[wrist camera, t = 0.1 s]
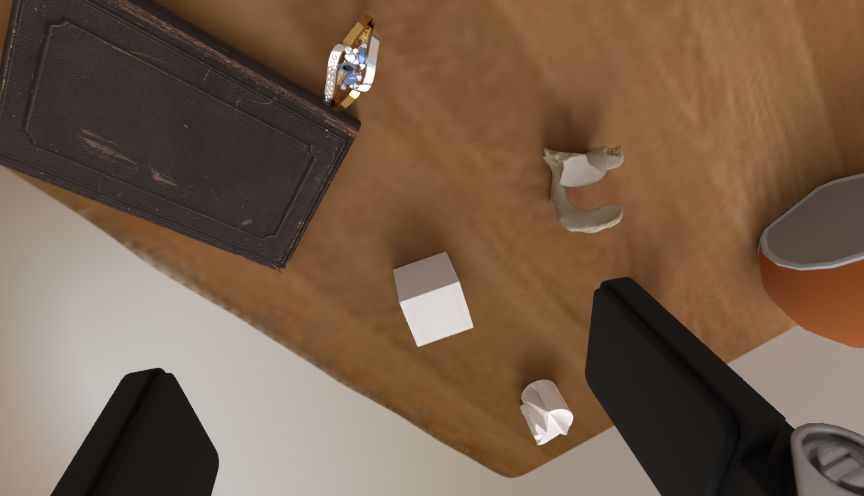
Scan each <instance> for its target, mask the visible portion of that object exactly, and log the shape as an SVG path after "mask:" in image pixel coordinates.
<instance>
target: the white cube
mask: <svg viewBox="0 0 864 496" xmlns="http://www.w3.org/2000/svg"><path fill="white" fill-rule="evenodd" d="M393 272H394V277H395V283H396V288H397V293H398V298H399V303H400V305H401V308H402V310H403V312H404V315H405V317H406V320H407V322H408V324H409V327H410V329H411V332H412V334H413V336H414V339H415V341H416V344H417V346H418V347H419V346H422V345H425V344H428V343H430V342H433V341H436V340H439V339H442V338H445V337H448V336H450V335H453V334H456V333H459V332H462V331H465V330H467V329H470V328H473V324H472V321H471V318H470V314H469V311H468V308H467V305H466V302H465V298H464V295H463V292H462V289H461V286H460V282H459V280H458V278H457V275H456V273H455V271H454V268H453V266H452V264H451V261H450V259H449V257H448V255H447V252H446V251H445V252H442V253H439V254H437V255H434V256H431V257H428V258H425V259H422V260H419V261H416V262H414V263H411V264H408V265H405V266H402V267H399V268H396V269H393Z"/></svg>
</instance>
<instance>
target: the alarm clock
mask: <svg viewBox="0 0 864 496" xmlns="http://www.w3.org/2000/svg"><path fill="white" fill-rule="evenodd" d="M757 253H758V259H759V264H760V269H761V275H762V281H763V286H764V288H765V290H766V291H767V293H768V295H769V296H770V298H771V300H772V301H773V302H774V303H775V304H776V305H777V306H778V307H779V308H781V309H782V310H783V311H784V312H785V313H786V314H787V315H788V316H789V317H790V318H791V319H792V320H794V321H795V322H796V323H797V324H799V325H800V326H801V327H803V328H804V329H805V330H807V331H810V332H813V333H815V334H818V335H820V336H823V337H825V338H828V339H831V340H834V341H837V342H839V343H842V344H845V345H848V346H851V347H856V348H864V173H862V174H858V175H853V176H849V177H845V178H840V179H836V180H833V181H831V182H828V183H826V184H824V185H821V186H819V187H817V188H816V189H815V190H813V191H812V192H811V193H810V194H808V195H807V196H806V197H805V198H803V199H802V200H801V201H800V202H798V203H797V204H796V205H794V206H793V207H792V208H791V209H789V210H788V211H787V212H786V213H784V214H783V215H782V216H781V217H779V218H778V219H777V220H776V221H774V222H773V223H772V224H771V225H769V226H768V227H767V228H766V229H765V230H764V231H763V233H762V235H761V237H760V242H759V245H758V248H757Z"/></svg>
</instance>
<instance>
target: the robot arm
mask: <svg viewBox="0 0 864 496" xmlns="http://www.w3.org/2000/svg"><path fill="white" fill-rule="evenodd" d="M585 376H586V380H587V383H588V385H589V387H590V389H591V390H592V392H593V393H594V395H595V396H596V398H597V399H598V401H599V402H600V404H601V405H602V407H603V408H604V410H605V411H606V413H607V414H608V416H609V417H610V419H611V420H612V422H613V423H614V425H615V426H616V428H617V429H618V431H619V432H620V434H621V435H622V437H623V438H624V440H625V441H626V443H627V445H628V446H629V447H630V449H631V451H632V452H633V454H634V455H635V457H636V458H637V460H638V461H639V462H640V464H641V465H642V467H643V469H644V470H645V472H646V473H647V475H648V476H649V478H650V479H651V481H652V482H653V484H654V485H655V487H656V488H657V490H658V491H659V493H660V494H661V496H864V436H861V435H860V434H858V433H856V432H853V431H850V430H847V429H845V428H842V427H839V426H834V425H829V424H824V423H808V424H805V425H802V426H799V427H797V428H796V429H794V428H793V427H792V426H790V425H789V424H788V423H787V422H786V421H785V419H786V418H785V417H784V416H783V415H782V414H781V413H779V412H778V411H777V410H776V409H775V408H774V407H773V406H772V405H771V404H769V403H768V402H767V401H766V400H765V399H764V398H763V397H762V396H761V395H759V393H757V392H756V391H755V390H754V389H753V388H752V387H751V386H750V385H749V384H747V383H746V382H745V381H744V380H743V379H742V378H741V377H740V376H739V375H738V374H736V373H735V372H734V371H733V370H732V369H731V368H730V367H729V366H728V365H727V364H725V363H724V362H723V361H722V360H721V359H720V358H719V357H718V356H717V355H716V354H714V353H713V352H712V351H711V350H710V349H709V348H708V347H707V346H706V345H705V344H703V343H702V342H701V341H700V340H699V339H698V338H697V337H696V336H695V335H694V334H692V333H691V332H690V331H689V330H688V329H687V328H686V327H685V326H684V325H683V324H681V323H680V322H679V321H678V320H677V319H676V318H675V317H674V316H673V315H672V314H670V313H669V312H668V311H667V310H666V309H665V308H664V307H663V306H662V305H660V304H659V303H658V302H657V301H656V300H655V299H654V298H653V297H652V296H651V295H649V294H648V293H647V292H646V291H645V290H644V289H643V288H642V287H641V286H640V285H638V284H637V283H636V282H635V281H634V280H633V279H631V278H630V277H622V278H617V279H612V280H607V281H603V282H602V283H601V285H600V288H599V289H596V290H595V292H594V298H593V307H592V315H591V324H590V333H589V342H588V351H587V359H586V368H585ZM218 467H219V458H218V453H217V451H216V449H215V447H214V446H213V444H212V442H211V440H210V439H209V437H208V435H207V433H206V431H205V430H204V428H203V426H202V424H201V422H200V421H199V419H198V417H197V415H196V414H195V412H194V410H193V408H192V406H191V405H190V403H189V401H188V399H187V397H186V396H185V394H184V392H183V390H182V388H181V387H180V385H179V383H178V381H177V380H176V378H175V377H174V375H173V374H172V373H165V371H164V370H163V369H161V368H154V369H149V370H144V371H139V372H134V373H129V374H127V375H125V376H124V377H123V379H122V380H121V382H120V383H119V385H118V386H117V388H116V390H115V391H114V393H113V395H112V396H111V398H110V399H109V401H108V403H107V405H106V406H105V408H104V409H103V411H102V413H101V414H100V416H99V418H98V419H97V421H96V422H95V424H94V426H93V427H92V429H91V430H90V432H89V434H88V435H87V437H86V439H85V440H84V442H83V443H82V445H81V447H80V448H79V450H78V451H77V453H76V455H75V456H74V458H73V460H72V461H71V463H70V464H69V466H68V468H67V469H66V471H65V473H64V474H63V476H62V478H61V479H60V481H59V482H58V484H57V486H56V487H55V489H54V491H53V492H52V494H51V495H50V496H211V494H212V490H213V486H214V483H215V479H216V476H217V472H218Z"/></svg>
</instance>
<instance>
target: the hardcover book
mask: <svg viewBox="0 0 864 496" xmlns="http://www.w3.org/2000/svg"><path fill="white" fill-rule="evenodd" d="M322 101H323V99H321V98H319V97H318V96H316V95H314V94H312V93H311V92H309V91H307V90H305V89H304V88H302V87H300V86H298V85H297V84H295V83H293V82H291V81H290V80H288V79H286V78H285V77H283V76H281V75H279V74H278V73H276V72H274V71H272V70H271V69H269V68H267V67H265V66H264V65H262V64H260V63H258V62H257V61H255V60H253V59H251V58H250V57H248V56H246V55H244V54H243V53H241V52H239V51H237V50H236V49H234V48H232V47H230V46H229V45H227V44H225V43H223V42H222V41H220V40H218V39H216V38H215V37H213V36H211V35H209V34H208V33H206V32H204V31H202V30H201V29H199V28H197V27H195V26H194V25H192V24H190V23H188V22H187V21H185V20H183V19H182V18H180V17H178V16H176V15H175V14H173V13H171V12H169V11H168V10H166V9H164V8H162V7H161V6H159V5H157V4H155V3H154V2H152V1H150V0H13V5H12V10H11V15H10V19H9V24H8V29H7V33H6V38H5V43H4V48H3V52H2V57H1V62H0V165H3V166H5V167H8V168H11V169H13V170H16V171H18V172H21V173H24V174H26V175H29V176H31V177H34V178H37V179H39V180H42V181H44V182H47V183H50V184H52V185H55V186H57V187H60V188H63V189H65V190H68V191H70V192H73V193H76V194H78V195H81V196H83V197H86V198H89V199H91V200H94V201H96V202H99V203H102V204H104V205H107V206H109V207H112V208H115V209H117V210H120V211H122V212H125V213H128V214H130V215H133V216H135V217H138V218H141V219H143V220H146V221H149V222H151V223H154V224H156V225H159V226H162V227H164V228H167V229H169V230H172V231H175V232H177V233H180V234H182V235H185V236H188V237H190V238H193V239H195V240H198V241H201V242H203V243H206V244H208V245H211V246H214V247H216V248H219V249H221V250H224V251H227V252H229V253H232V254H234V255H237V256H240V257H242V258H245V259H247V260H250V261H253V262H255V263H258V264H260V265H263V266H266V267H268V268H271V269H273V270H276V271H279V272H281V273H283V271H284V269H285V267H286V265H287V264H288V262H289V260H290V258H291V256H292V254H293V252H294V250H295V249H296V247H297V245H298V243H299V241H300V239H301V237H302V236H303V234H304V232H305V230H306V228H307V226H308V224H309V223H310V221H311V219H312V217H313V215H314V213H315V211H316V210H317V208H318V206H319V204H320V202H321V200H322V198H323V196H324V195H325V193H326V191H327V189H328V187H329V185H330V183H331V182H332V180H333V178H334V176H335V174H336V172H337V170H338V169H339V167H340V165H341V163H342V161H343V159H344V157H345V155H346V154H347V152H348V150H349V148H350V146H351V144H352V142H353V141H354V139H355V137H356V135H357V133H358V131H359V129H360V126H361V122H360V120H358V119H356V118H354V117H353V116H351V115H349V114H347V113H346V112H344V111H340V112H337V111H335V110H334V109H332V108H331V107H330V105H329V106H327V105H326V104H325V103H323V102H322Z"/></svg>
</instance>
